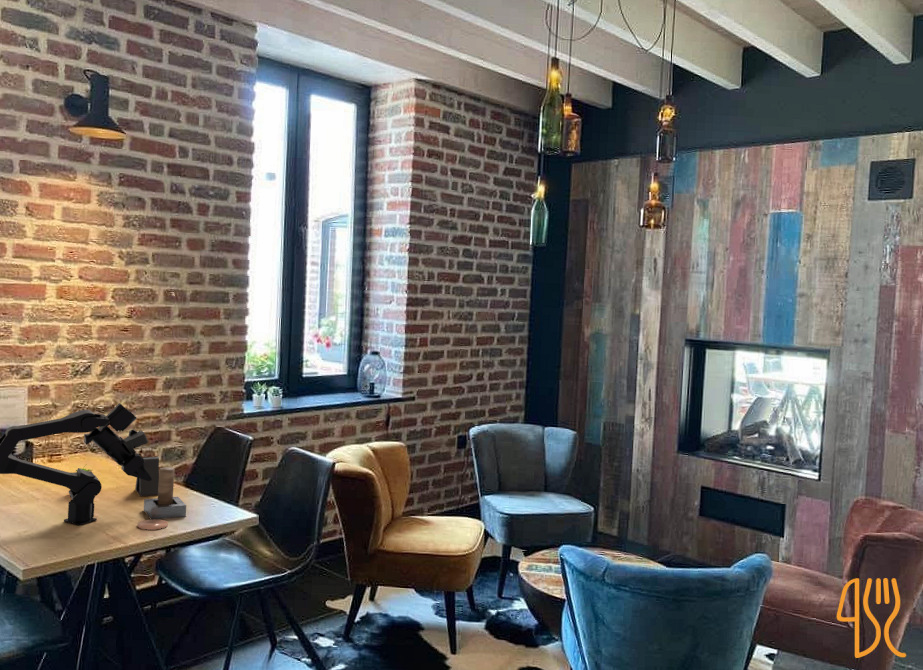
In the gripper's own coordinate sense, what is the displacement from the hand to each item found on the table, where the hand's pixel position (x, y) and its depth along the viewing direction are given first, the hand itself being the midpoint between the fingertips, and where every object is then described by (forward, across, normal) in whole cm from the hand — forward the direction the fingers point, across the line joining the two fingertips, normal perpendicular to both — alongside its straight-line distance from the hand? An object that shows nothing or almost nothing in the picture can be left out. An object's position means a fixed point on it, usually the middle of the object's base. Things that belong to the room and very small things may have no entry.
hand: (147, 476), depth 241 cm
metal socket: (+12, 0, +4) cm, 13 cm away
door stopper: (+13, +25, +4) cm, 29 cm away
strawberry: (-1, +29, +18) cm, 35 cm away
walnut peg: (+12, 0, +4) cm, 13 cm away
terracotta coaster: (+8, -11, +9) cm, 16 cm away
